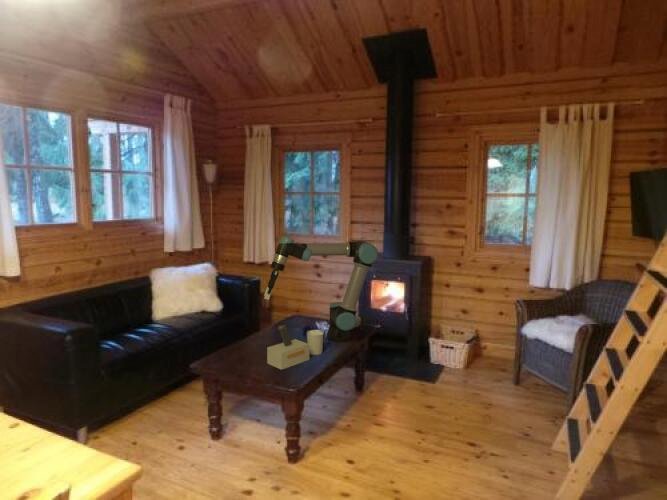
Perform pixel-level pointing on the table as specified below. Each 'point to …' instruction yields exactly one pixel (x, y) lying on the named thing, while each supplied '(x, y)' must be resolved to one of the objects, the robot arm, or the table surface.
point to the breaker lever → (285, 334)
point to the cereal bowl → (357, 321)
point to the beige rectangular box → (287, 354)
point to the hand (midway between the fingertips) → (266, 297)
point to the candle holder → (315, 341)
